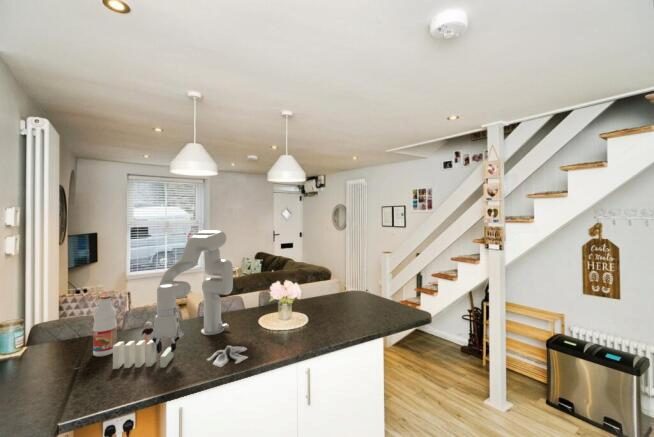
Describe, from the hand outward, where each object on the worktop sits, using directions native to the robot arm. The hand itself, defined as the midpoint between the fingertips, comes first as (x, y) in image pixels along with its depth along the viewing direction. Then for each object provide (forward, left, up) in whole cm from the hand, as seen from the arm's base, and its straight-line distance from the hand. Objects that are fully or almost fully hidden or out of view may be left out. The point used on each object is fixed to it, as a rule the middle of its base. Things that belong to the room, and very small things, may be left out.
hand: (166, 351), depth 137 cm
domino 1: (+20, 0, -5) cm, 21 cm away
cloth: (-26, -2, -6) cm, 27 cm away
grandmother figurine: (+16, -21, -5) cm, 27 cm away
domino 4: (+6, 0, -5) cm, 8 cm away
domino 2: (+15, 0, -5) cm, 16 cm away
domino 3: (+11, 0, -5) cm, 12 cm away
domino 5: (0, -6, -3) cm, 6 cm away
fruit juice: (+34, -16, -5) cm, 38 cm away
